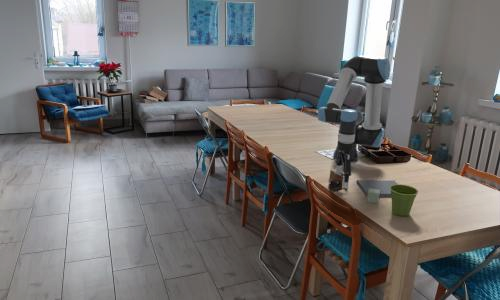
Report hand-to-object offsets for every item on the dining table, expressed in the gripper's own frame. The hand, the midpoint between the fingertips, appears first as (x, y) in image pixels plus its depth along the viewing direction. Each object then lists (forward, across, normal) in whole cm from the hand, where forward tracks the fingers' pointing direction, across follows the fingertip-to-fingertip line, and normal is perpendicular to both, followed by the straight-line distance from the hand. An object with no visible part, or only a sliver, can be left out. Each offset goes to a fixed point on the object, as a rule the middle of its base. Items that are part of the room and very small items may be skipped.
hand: (341, 182), depth 201 cm
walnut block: (+4, -14, +1) cm, 15 cm away
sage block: (+4, +13, +12) cm, 18 cm away
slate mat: (+3, -1, +21) cm, 21 cm away
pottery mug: (+4, -1, -1) cm, 4 cm away
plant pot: (+4, +26, +20) cm, 33 cm away
